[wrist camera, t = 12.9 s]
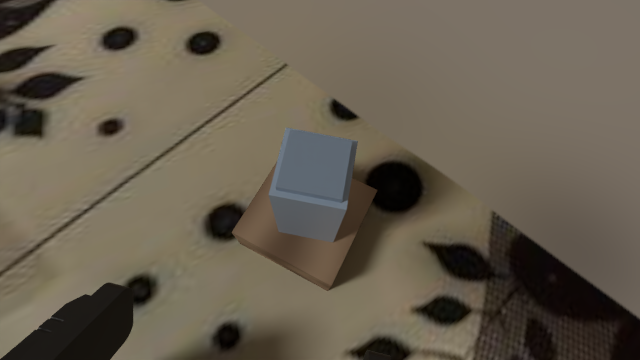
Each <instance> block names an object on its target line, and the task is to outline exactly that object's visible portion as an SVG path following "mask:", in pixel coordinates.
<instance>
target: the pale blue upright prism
mask: <svg viewBox="0 0 640 360" xmlns="http://www.w3.org/2000/svg"><path fill="white" fill-rule="evenodd" d="M357 143H358V141H355V140H349V139H344V138H339V137H334V136H328V135H323V134H318V133H312V132H307V131H302V130H296V129H291V128H286V130H285V134H284V138H283V141H282V145H281V149H280V153H279V157H278V161H277V164H276V168H275V172H274V176H273V180H272V184H271V188H270V191H269V198H270V202H271V206H272V209H273V213H274V217H275V220H276V224H277V228H278V231H279V232H282V233H287V234H292V235H297V236H302V237H307V238H312V239H318V240H323V241H328V242H333V241H334V239H335V237H336V234H337V232H338V229H339V227H340V225H341V222H342V220H343V217H344V215H345V212H346V210H347V204H348V198H349V192H350V186H351V179H352V173H353V167H354V161H355V155H356V149H357Z"/></svg>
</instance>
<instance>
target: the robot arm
mask: <svg viewBox="0 0 640 360" xmlns="http://www.w3.org/2000/svg"><path fill="white" fill-rule="evenodd" d="M132 326H133V290H132V289H131V288H129V287H125V286H121V285H117V284H113V283H106V284H104V285H103V286H102V287H100V288H99V289H98V290H97V291H96V292H95V293H94V294H93V295H91V296H90V295H86V294H85V295H83V296H81V297H79V298H77V299H75V300H73V301H71V302H69V303H67V304H65V305H64V306H63V307H62V308H61V309H59V310H58V311H57V312H56V313H55V314H53V315H52V316H51V318H50V319H48V320H46V321H45V322H44V323H43V324H42V325H40V326H39V328H38V329H37V330H35V331H33V332H32V333H31V334H30V335H29V336H27V337H26V338H25V339H24V340H23V341H21V342H20V343H19V344H18V345H17V346H16V347H14V348H13V349H12V350H11V351H10V352H8V353H7V354H6V355H5V356H4V357H2V358H1V359H0V360H110V359H111V358H112V357H113V355H114V354H115V353H116V352H117V351H118V349H119V348H120V347H121V346H122V344H123V343H124V342H125V341H126V339H127V338H128V336H129V334H130V332H131V329H132ZM363 360H391V357H390V356H389V355H385V354H381V353H377V352H373V351H369V350H367V351H366V353H365V356H364V359H363Z"/></svg>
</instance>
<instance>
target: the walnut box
mask: <svg viewBox="0 0 640 360" xmlns="http://www.w3.org/2000/svg"><path fill="white" fill-rule="evenodd" d="M276 164H277V162H276ZM276 164H275V166H274V167H273V169H272V170H271V172H270V173H269V175H268V177H267V178H266V180H265V181H264V183H263V184H262V186H261V187H260V189H259V191H258V192H257V194H256V195H255V197H254V198H253V200H252V202H251V203H250V205H249V206H248V208H247V209H246V211H245V213H244V214H243V216H242V217H241V219H240V220H239V222H238V224H237V225H236V227H235V228H234V230H233V231H232V233H233V235H234V236H235V237H236V238H237V240H238V241H239V242H240V244H242V245H244V246H246V247H247V248H249V249H251V250H253V251H255V252H257V253H259V254H260V255H262V256H264V257H266V258H268V259H270V260H271V261H273V262H275V263H277V264H279V265H281V266H283V267H284V268H286V269H288V270H290V271H292V272H294V273H295V274H297V275H299V276H301V277H303V278H305V279H307V280H308V281H310V282H312V283H314V284H316V285H318V286H319V287H321V288H323V289H325V290H327V291H328V290H329V288H330V287H331V286H332V284H333V282H334V280H335V277H336V275H337V273H338V271H339V269H340V267H341V265H342V263H343V261H344V259H345V257H346V255H347V252H348V250H349V248H350V246H351V244H352V242H353V240H354V238H355V236H356V234H357V232H358V230H359V227H360V225H361V223H362V221H363V219H364V217H365V215H366V213H367V211H368V209H369V207H370V205H371V202H372V200H373V198H374V196H375V194H376V192H377V190H376V189H374V188H372V187H370V186H368V185H366V184H364V183H362V182H360V181H357V180H355V179H353V178H352V179H351V186H350V192H349V198H348V204H347V210H346V212H345V215H344V217H343V220H342V222H341V225H340V227H339V229H338V232H337V234H336V237H335V239H334V241H333V242H328V241H323V240H318V239H312V238H307V237H302V236H297V235H292V234H287V233H282V232H279V231H278V228H277V224H276V220H275V217H274V213H273V209H272V206H271V202H270V198H269V191H270V188H271V184H272V180H273V176H274V172H275V168H276Z"/></svg>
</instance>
